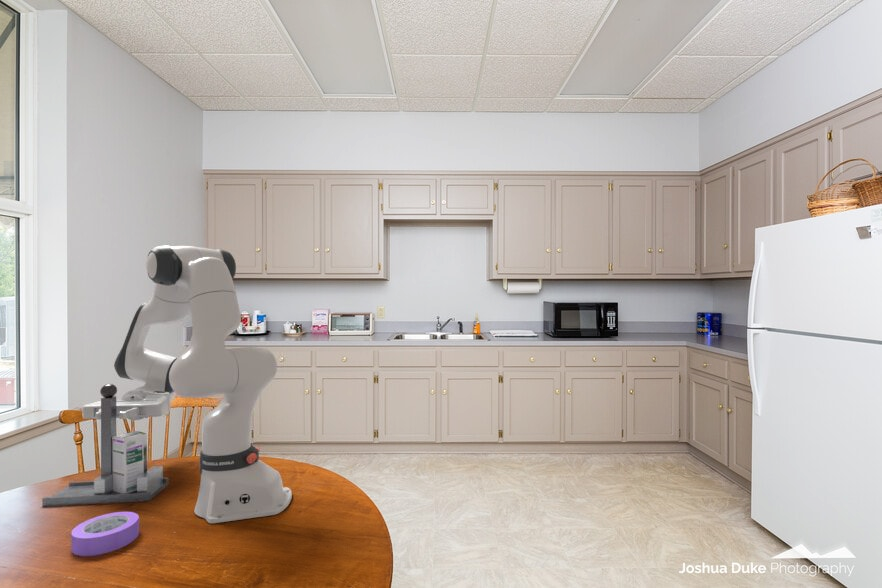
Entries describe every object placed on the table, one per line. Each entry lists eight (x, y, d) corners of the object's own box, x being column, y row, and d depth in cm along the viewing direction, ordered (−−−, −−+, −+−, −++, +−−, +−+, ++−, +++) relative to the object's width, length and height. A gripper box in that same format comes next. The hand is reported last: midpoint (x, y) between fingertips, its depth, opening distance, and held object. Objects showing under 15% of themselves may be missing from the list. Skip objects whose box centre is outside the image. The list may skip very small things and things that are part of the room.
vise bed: (168, 484, 127) (168, 464, 127) (149, 501, 117) (149, 478, 117) (70, 489, 124) (70, 468, 124) (42, 506, 114) (42, 483, 114)
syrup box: (124, 495, 117) (125, 439, 117) (111, 491, 120) (111, 435, 120) (147, 487, 122) (147, 432, 122) (134, 482, 125) (134, 429, 125)
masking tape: (72, 539, 99) (72, 521, 99) (136, 522, 106) (136, 506, 106) (70, 564, 90) (70, 544, 90) (141, 544, 97) (141, 526, 97)
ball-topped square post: (124, 483, 125) (124, 381, 125) (106, 496, 117) (106, 386, 117) (110, 484, 124) (110, 381, 124) (91, 497, 116) (91, 387, 116)
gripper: (100, 393, 132) (66, 405, 118) (175, 391, 134) (151, 402, 121) (100, 415, 132) (66, 429, 118) (175, 413, 134) (151, 426, 121)
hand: (110, 416), depth 120 cm, fingers open, 4 cm apart
